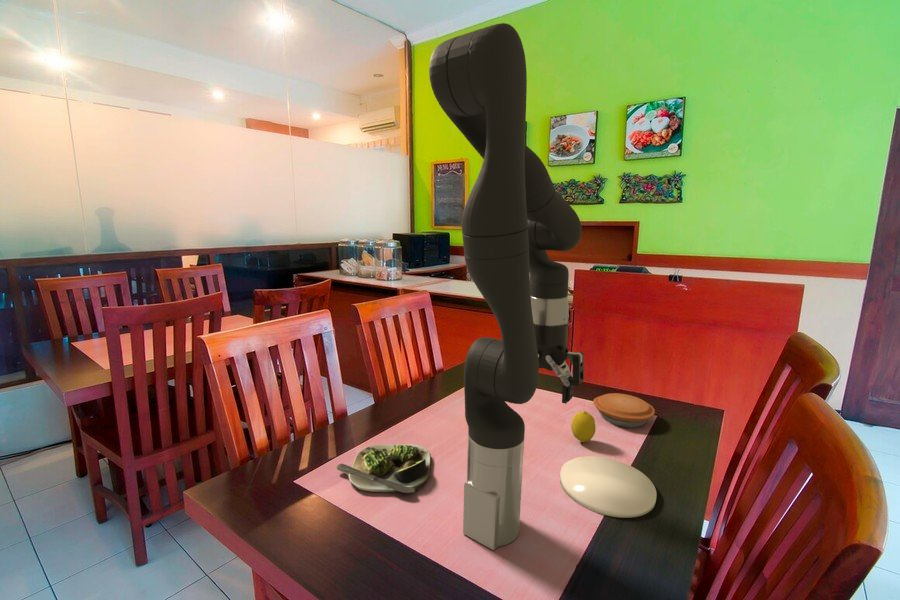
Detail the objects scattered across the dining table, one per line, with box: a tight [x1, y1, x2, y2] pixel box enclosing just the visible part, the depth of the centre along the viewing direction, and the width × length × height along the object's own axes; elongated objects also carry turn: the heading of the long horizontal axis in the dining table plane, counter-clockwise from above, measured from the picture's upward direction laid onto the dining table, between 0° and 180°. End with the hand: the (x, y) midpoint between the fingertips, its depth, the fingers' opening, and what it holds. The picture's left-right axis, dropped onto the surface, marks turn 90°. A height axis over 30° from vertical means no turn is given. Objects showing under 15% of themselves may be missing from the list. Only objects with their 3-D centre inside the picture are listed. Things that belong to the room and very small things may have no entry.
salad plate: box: [336, 443, 432, 494], centre depth 87 cm, size 19×18×5 cm
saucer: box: [559, 455, 657, 519], centre depth 83 cm, size 18×18×1 cm
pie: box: [592, 392, 656, 428], centre depth 113 cm, size 15×16×5 cm
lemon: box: [571, 410, 597, 443], centre depth 99 cm, size 6×6×8 cm
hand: (545, 396), depth 83 cm, fingers open, 8 cm apart
